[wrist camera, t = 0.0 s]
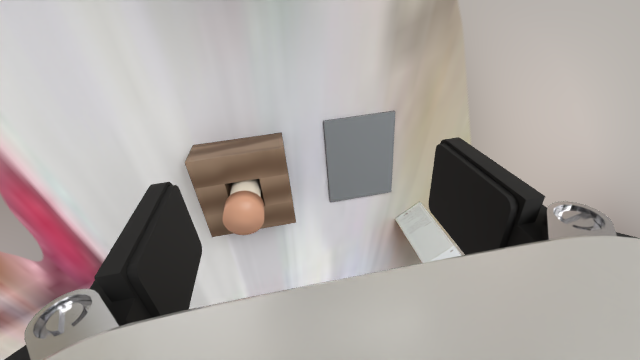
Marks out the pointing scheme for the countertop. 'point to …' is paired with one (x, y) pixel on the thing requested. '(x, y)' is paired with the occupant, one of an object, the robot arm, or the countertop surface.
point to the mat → (359, 155)
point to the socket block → (241, 177)
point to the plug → (244, 208)
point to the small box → (425, 235)
